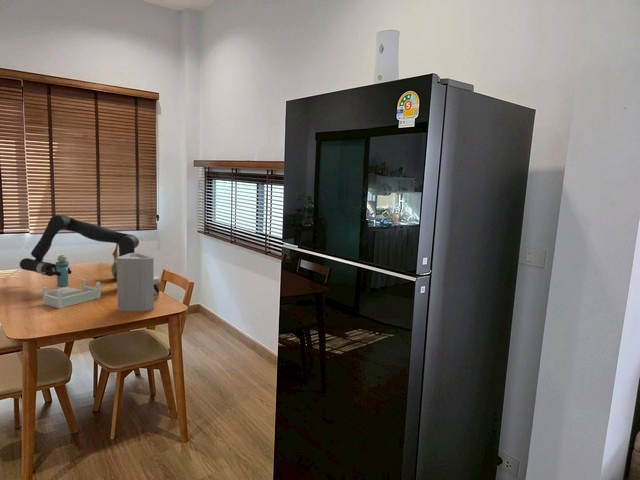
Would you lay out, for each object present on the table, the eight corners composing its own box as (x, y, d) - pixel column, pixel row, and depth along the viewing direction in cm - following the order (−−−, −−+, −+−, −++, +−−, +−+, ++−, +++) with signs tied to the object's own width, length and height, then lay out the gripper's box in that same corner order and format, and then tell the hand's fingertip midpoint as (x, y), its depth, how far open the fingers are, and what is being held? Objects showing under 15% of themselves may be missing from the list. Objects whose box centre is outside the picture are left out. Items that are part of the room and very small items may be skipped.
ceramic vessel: (130, 281, 275) (130, 244, 272) (116, 283, 269) (115, 245, 265) (121, 276, 287) (121, 240, 283) (107, 278, 280) (106, 241, 277)
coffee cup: (154, 300, 236) (154, 280, 234) (139, 299, 237) (139, 278, 236) (163, 296, 245) (163, 276, 243) (149, 294, 247) (149, 275, 245)
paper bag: (111, 306, 223) (109, 255, 219) (138, 301, 234) (137, 252, 230) (126, 315, 210) (125, 261, 206) (154, 309, 221) (154, 258, 217)
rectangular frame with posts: (43, 303, 221) (42, 287, 220) (84, 294, 242) (84, 279, 241) (59, 308, 215) (58, 291, 214) (100, 297, 236) (100, 282, 235)
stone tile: (46, 294, 238) (46, 291, 237) (67, 290, 248) (66, 286, 248) (59, 298, 232) (59, 294, 232) (80, 293, 243) (80, 289, 243)
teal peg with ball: (71, 284, 243) (70, 254, 240) (65, 287, 237) (64, 256, 234) (60, 284, 243) (59, 253, 240) (54, 287, 236) (52, 255, 234)
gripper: (34, 264, 238) (52, 268, 230) (59, 260, 250) (77, 264, 243) (34, 277, 239) (52, 282, 232) (59, 272, 252) (77, 277, 244)
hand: (65, 273), depth 237 cm, fingers closed on teal peg with ball, 5 cm apart
